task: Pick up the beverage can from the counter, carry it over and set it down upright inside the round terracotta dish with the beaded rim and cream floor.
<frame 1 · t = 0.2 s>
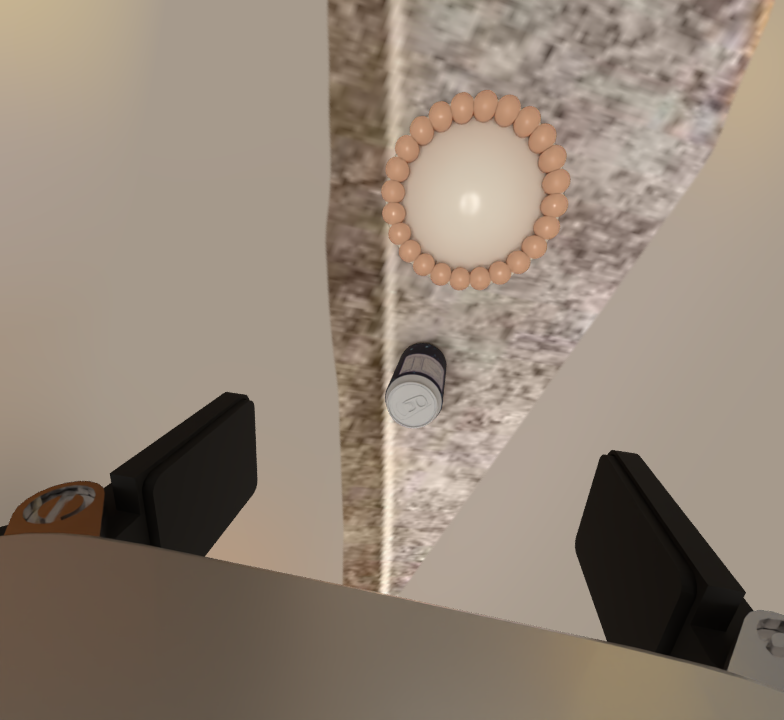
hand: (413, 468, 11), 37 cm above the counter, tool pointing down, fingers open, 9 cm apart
round dish: (471, 199, 42), on the counter
beverage can: (423, 362, 49), on the counter
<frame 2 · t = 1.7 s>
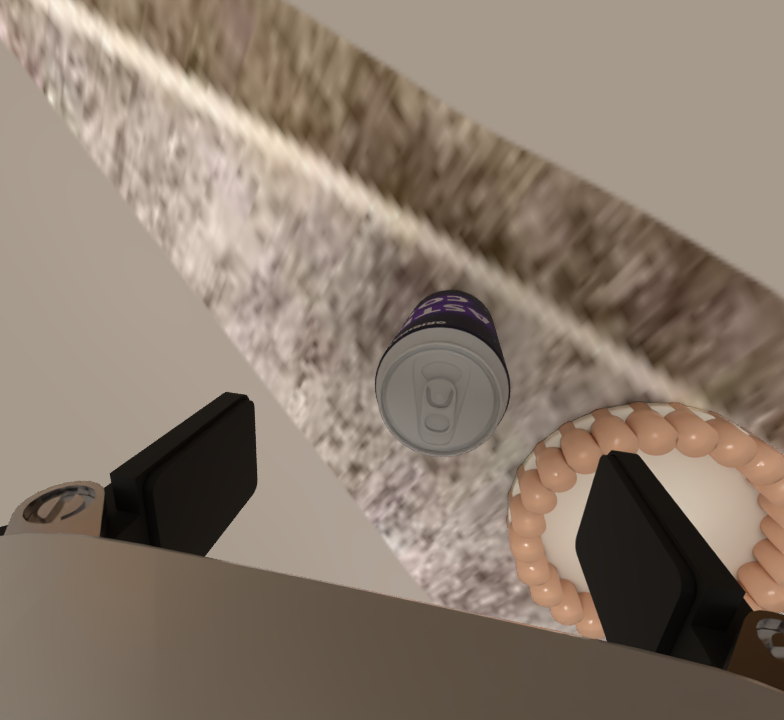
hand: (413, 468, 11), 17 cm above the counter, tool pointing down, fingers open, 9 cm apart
round dish: (637, 517, 28), on the counter
beverage can: (450, 329, 27), on the counter
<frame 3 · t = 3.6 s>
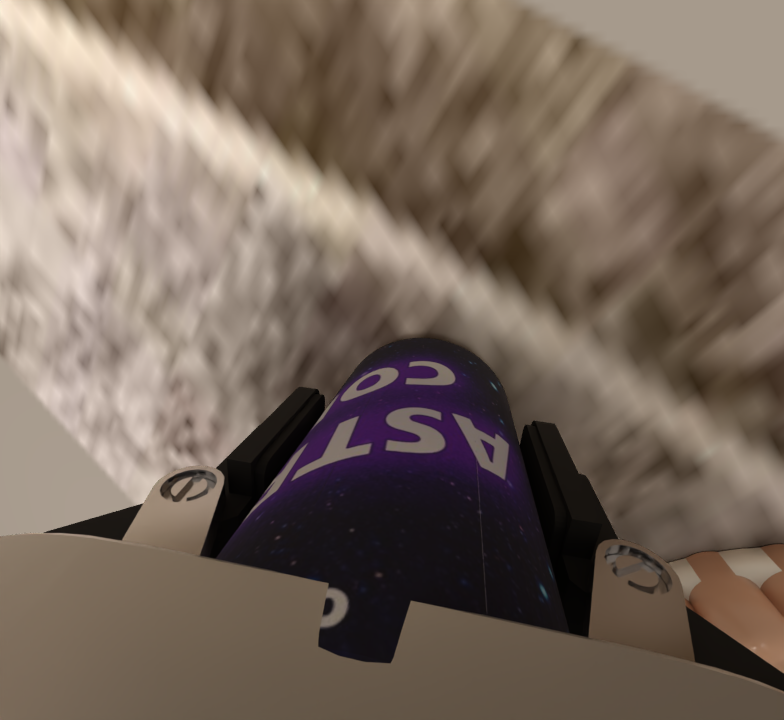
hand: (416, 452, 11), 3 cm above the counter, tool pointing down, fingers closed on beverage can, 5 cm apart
beverage can: (425, 404, 14), on the counter, touching gripper
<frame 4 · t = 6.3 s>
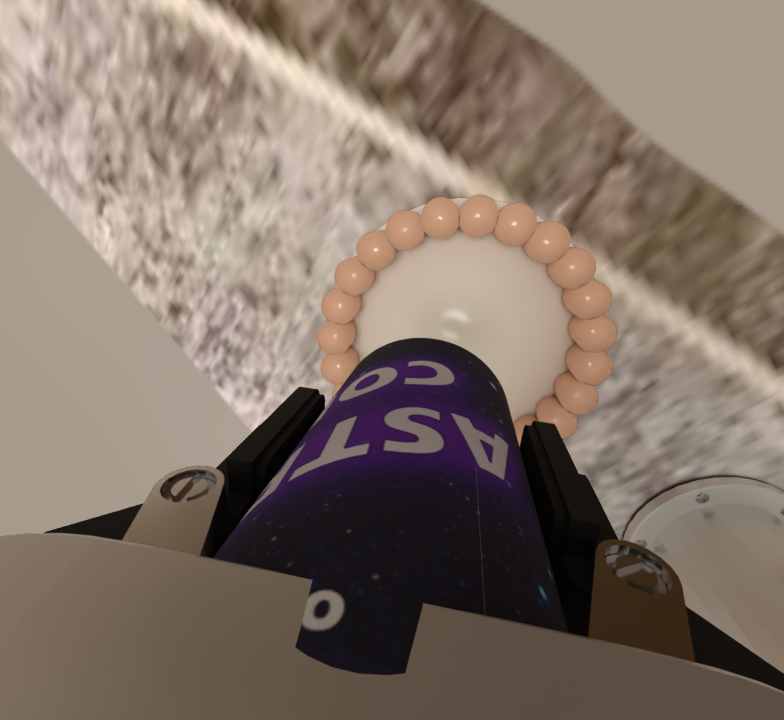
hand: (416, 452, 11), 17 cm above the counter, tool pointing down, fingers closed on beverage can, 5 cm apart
round dish: (457, 339, 27), on the counter
beverage can: (425, 404, 14), point 13 cm above the counter, touching gripper
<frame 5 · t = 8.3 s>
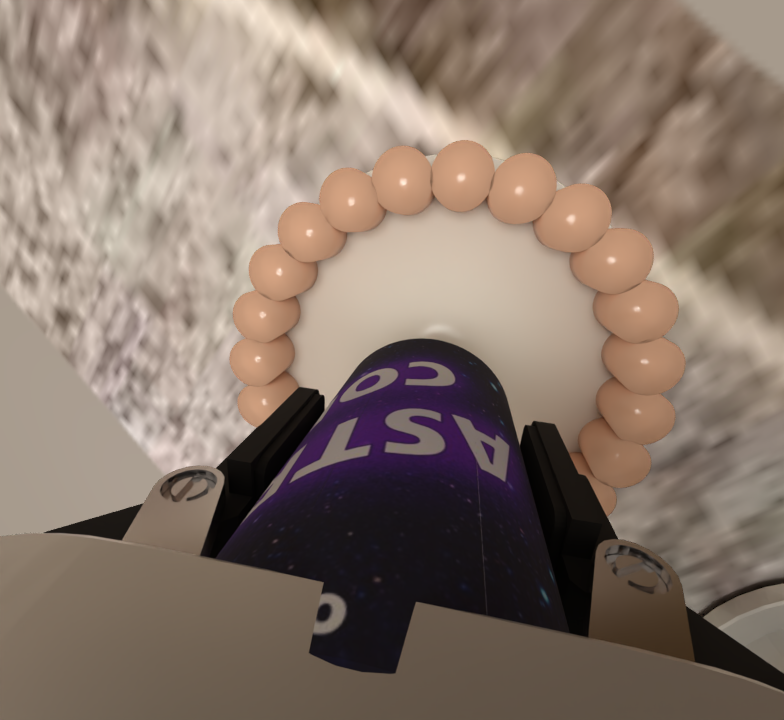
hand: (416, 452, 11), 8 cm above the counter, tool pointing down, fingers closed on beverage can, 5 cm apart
round dish: (439, 365, 19), on the counter
beverage can: (425, 405, 14), point 5 cm above the counter, touching gripper
when the fingers open (5 cm above the counter, at t = 9.3 s): beverage can drops 1 cm, resting on round dish.
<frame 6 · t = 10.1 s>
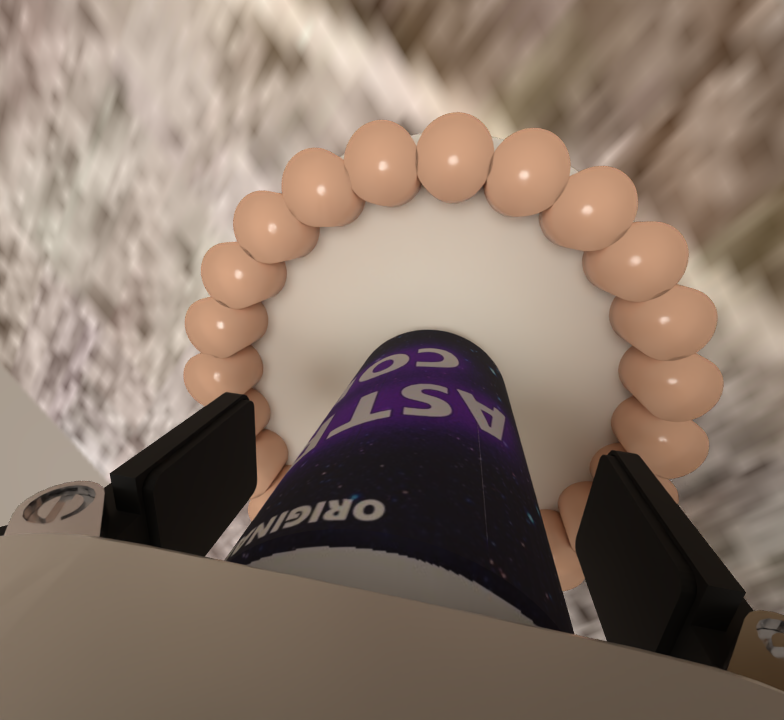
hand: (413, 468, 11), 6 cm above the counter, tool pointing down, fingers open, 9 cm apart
round dish: (429, 381, 16), on the counter
beverage can: (431, 391, 16), point 1 cm above the counter, touching round dish
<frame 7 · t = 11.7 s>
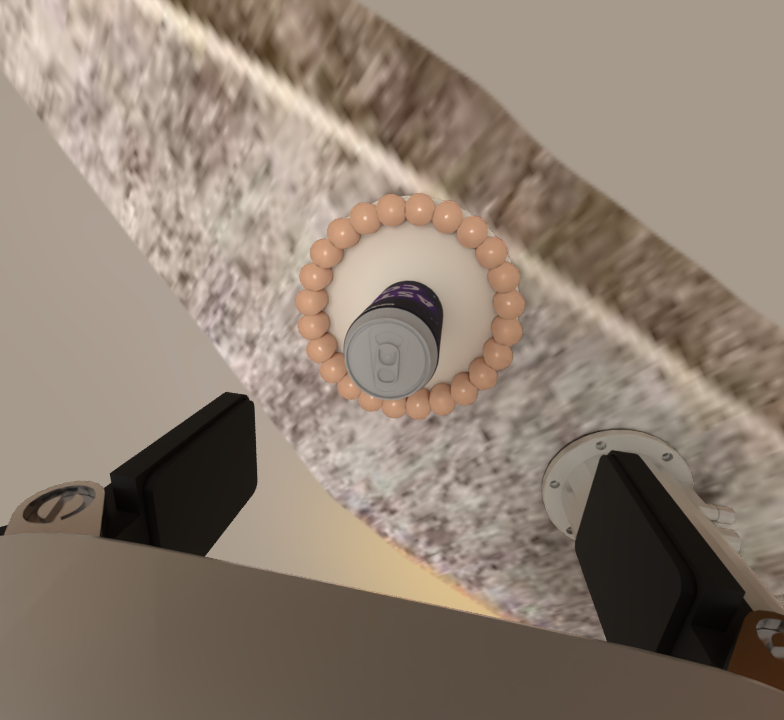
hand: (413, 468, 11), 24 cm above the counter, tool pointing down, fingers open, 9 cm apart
round dish: (409, 309, 34), on the counter
beverage can: (409, 312, 33), point 1 cm above the counter, touching round dish
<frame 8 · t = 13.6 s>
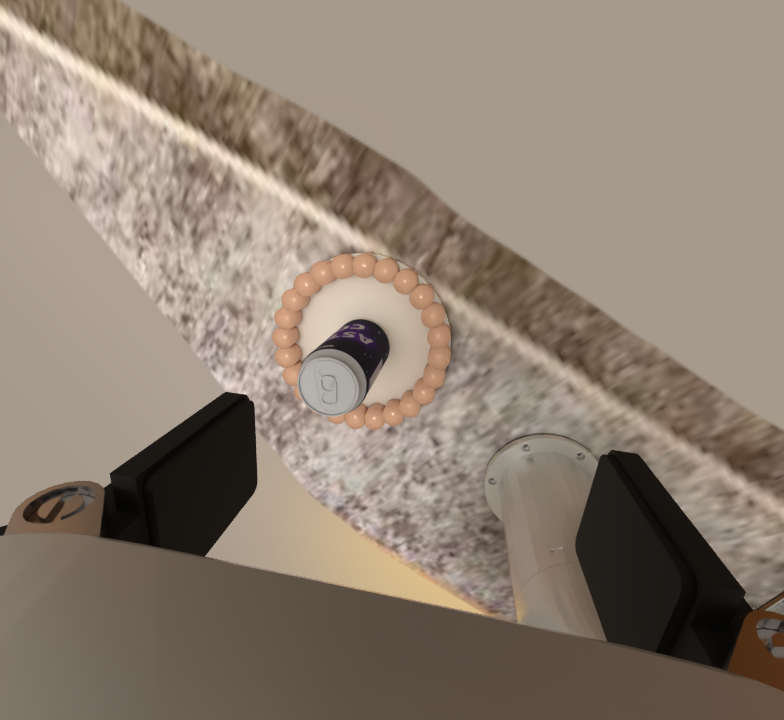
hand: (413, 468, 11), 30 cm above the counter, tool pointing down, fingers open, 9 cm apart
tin: (781, 598, 44), on the counter
round dish: (365, 340, 42), on the counter
beverage can: (364, 343, 41), point 1 cm above the counter, touching round dish
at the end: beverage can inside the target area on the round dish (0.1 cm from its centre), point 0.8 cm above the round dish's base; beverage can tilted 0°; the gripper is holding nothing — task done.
